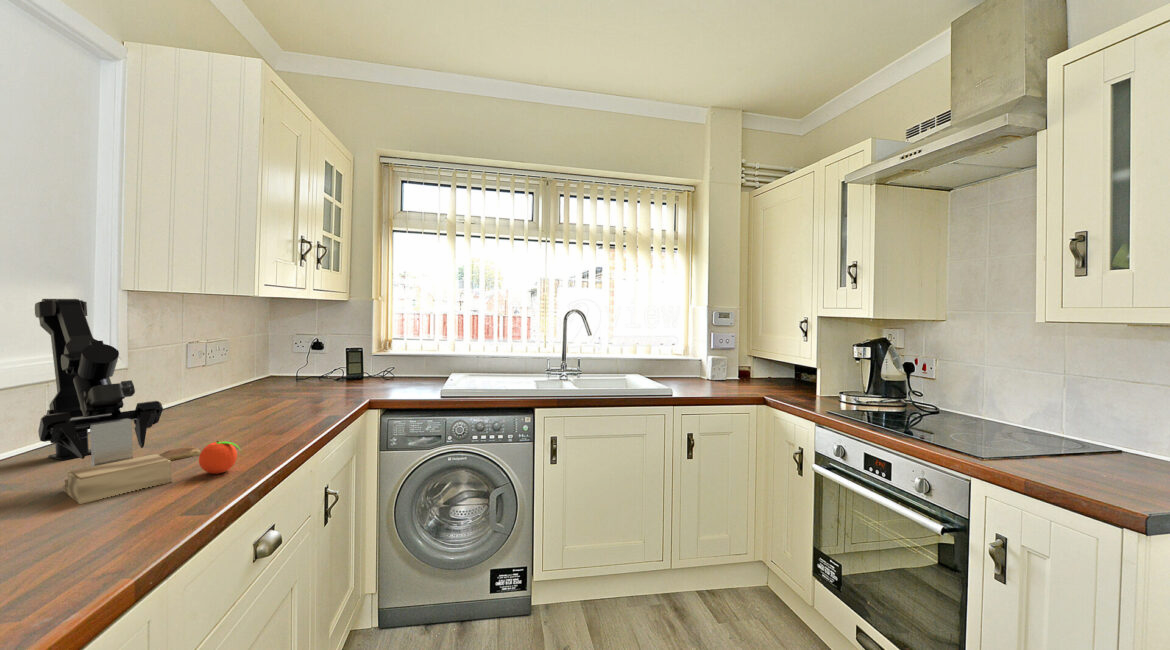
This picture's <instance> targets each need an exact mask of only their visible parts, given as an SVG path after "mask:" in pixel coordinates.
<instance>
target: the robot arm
mask: <svg viewBox="0 0 1170 650" xmlns="http://www.w3.org/2000/svg"><path fill="white" fill-rule="evenodd" d="M34 315H35V318H37V319H38V321H39V326H40V327H41V329H43V330H45V332H47V333H48V335H50V339H51V349H52V356H53V357H52V359H53V367H54V374H55V375H54V376H55V384H56V393H55V396H54V398H53V399H52V400H51V401H50V403H49V405H48V406H49V409H47V410H46V414H44V415H43V416H42V417H41V418H40V421H39V427H38V437H39V441H40V442H44V443H46V442H50V444H55V453H54V454H49V455H47V456H48V458H50V459H54V460H55V459H56V460H61V461H64V460H70V459H73V458H80V459H82V460H83V459H85V457H86V456H87V455H91V449H90V448H89V430H90V424H93V423H100V422H107V421H114V420H121V419H128V418H129V419H131V421H133V424H134V425H135V426H134V432H135V436H136V439H137V443H138V446H139V447H140V448H141V449H143V448H144V447H145V443H146V442H145V441H146V435H147V430H148V429H150V428H152V427H153V425H156V424H157V423H159V421H160V418H161V416H162V413H163V410H164V407H163V405H162V402H160V401H159V400H153V401H143V402H137V403H136V406H135V409H134V410H133V409H132V410H126V411H121V409H122V408H123V407H124V406H125V405H124V401H123V400H125V398H130V397H133V396H134V395H135V394H136V393H135V392H136V388H135V385H134V382H133V380H122V381H120V382H119V383H112V380H111V378H112V377H113V376H114V374H115V369H116V367H117V363H118V359H119V356H120V351H119V350H118V349H117V348H115V347H114V346H112V345H109V344H106V343H104V341H103V340H97V339H95V338H94V336H93V334H92V331H91V329H90V326H89V325H90V324H89V323H88V319H87V316H88V305H87V301H84V300H83V299H77V298H42V299H41V301H38V302H35V304H34Z"/></svg>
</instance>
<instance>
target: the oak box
mask: <svg viewBox="0 0 1170 650" xmlns="http://www.w3.org/2000/svg"><path fill="white" fill-rule="evenodd" d="M172 471H173V470H172V461H170V460H168V459H166V458H164V457H162V456H160V454H157V453H153V454H148V455H143V456H138V457H133V458H132V459H127V460H122V461H117V462H112V463H107V464H102V465H97V466H92V465H91V466H88V467H83V468H78V469H72V470H70V471H67V478H66V479H64V484H63V492H64V493H65V494H67V495H68V496H69V497H70V498H71V499H73V500H74V501H75V502H76V503H77V504H78V505H82V504H86V503H90V502H95V501H98V500H103V498H104V499H107V497H108V498H111V496H112V497H114V496H115V495H116V496H120V495H124V494H123V493H125V494H128V493H127V492H129V493H132V492H131V491H133V492H136V491H135V490H137V491H140V490H139V489H141V490H143V489H142V488H145V489H149V488H148V487H150V488H153V487H152V486H154V487H157V485H158V486H162V485H166V484H170V483H169V482H171V483H173V474H172V473H173V472H172ZM161 484H162V485H161ZM119 494H120V495H119ZM116 496H115V497H116Z"/></svg>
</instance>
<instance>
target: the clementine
mask: <svg viewBox="0 0 1170 650" xmlns="http://www.w3.org/2000/svg"><path fill="white" fill-rule="evenodd" d="M236 448H238V450H239V451H240V452H242V450H241V448H240V447H239V446H238V445H237V444H236V443H234V442H231V441H224V440H223V441H220V440H217V441H215V442H211V443H209V444H208V445H206V446H205V447H203V449H202V450H201V451H200V452H201V453H200V455H198V456H199V457H198V464H199V466H200V468H201V469H202V470H203V471H204V472H207V473H209V474H215V475H216V474H217V475H218V474H222V473H225V472H226V471H229V470H230V469H232V467H234V465H235V464H236V462H237V460H238V451H237V449H236Z"/></svg>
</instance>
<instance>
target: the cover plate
mask: <svg viewBox="0 0 1170 650" xmlns="http://www.w3.org/2000/svg"><path fill="white" fill-rule="evenodd" d="M132 427H133V426H132V420H131V419H129V418H128V419H121V420H114V421H107V422H100V423H93V424H90V429H89V430H90V431H89V433H90V450H91V454H90V455H91V466H97V465H102V464H107V463H112V462H117V461H122V460H127V459H132V458H134V454H133V453H134V452H133V433H132V432H133V431H132Z"/></svg>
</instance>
